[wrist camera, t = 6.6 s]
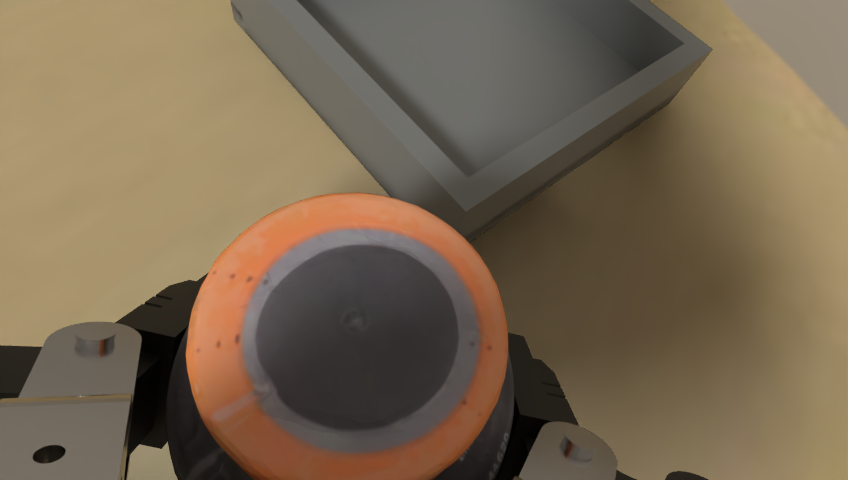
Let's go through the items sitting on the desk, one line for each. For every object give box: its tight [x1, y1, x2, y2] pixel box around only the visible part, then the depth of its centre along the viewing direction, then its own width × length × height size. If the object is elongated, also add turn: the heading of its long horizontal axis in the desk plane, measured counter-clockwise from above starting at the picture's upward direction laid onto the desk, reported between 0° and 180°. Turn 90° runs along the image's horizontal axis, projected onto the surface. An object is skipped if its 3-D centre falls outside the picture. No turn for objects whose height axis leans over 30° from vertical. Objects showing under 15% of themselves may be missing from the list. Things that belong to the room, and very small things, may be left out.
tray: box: [230, 0, 713, 242], centre depth 24 cm, size 16×16×4 cm
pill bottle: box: [166, 193, 514, 480], centre depth 11 cm, size 6×6×11 cm
